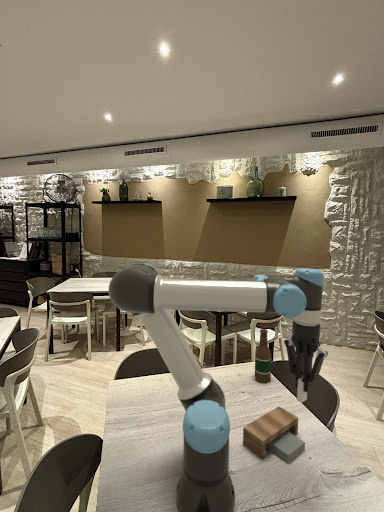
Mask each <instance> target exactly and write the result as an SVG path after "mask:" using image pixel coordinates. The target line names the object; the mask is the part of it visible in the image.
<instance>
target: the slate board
mask: <svg viewBox="0 0 384 512" xmlns="http://www.w3.org/2000/svg"><path fill="white" fill-rule="evenodd" d="M266 449H268V450H269V451H271V453H273V454H275V455H276V456H277V457H279V458H280V459H281V460H283V461H284V462H286V463H287V464H289V463H290V462H292V461H293V460H295V458H296V457H298V456H299V455H300V454H301V453H302V452H304V451H305V450H306V442H305V440H302V439H301V438H299V437H297V436H296V435H294V434H293V433H291V432H288V431H285V432H284V433H282V434H281V435H279V436H278V437H276V438H275V439H274V440H272V441H271V442H269V443H268V444H266Z"/></svg>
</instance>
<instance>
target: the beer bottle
mask: <svg viewBox="0 0 384 512" xmlns="http://www.w3.org/2000/svg"><path fill="white" fill-rule="evenodd" d="M259 333H260V335H259V344H258V346H257V347H256V350H255V352H254V353H255V355H254V380H255V381H256V382H258V383H260V384H267V383H270V382H271V380H272V379H271V378H272V353H271V349H270V348H269V346H268V333H269V332H268V330H267V329H265V328H261V329H260V330H259Z"/></svg>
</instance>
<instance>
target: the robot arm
mask: <svg viewBox="0 0 384 512" xmlns="http://www.w3.org/2000/svg"><path fill="white" fill-rule="evenodd" d="M323 291H324V274H323V271H321V270H320V269H317V268H316V269H315V268H308V267H307V268H306V267H305V268H304V267H302V268H299V267H298V268H296V269H295V270H294V274H292V275H284V274H283V275H280V274H266V273H264V274H255V275H254V276H253V279H252V280H251V281H249V280H248V281H247V280H219V279H217V280H215V279H211V280H210V279H207V280H206V279H183V278H182V279H180V278H179V279H178V278H177V279H176V278H164V277H162V275H160V273H159V271H158V269H156V267H154V266H153V265H151V264H148V263H143V262H138V263H133V264H131V265H129V266H128V267H125V268H123V269H121V270H119V271H118V272H116V273H115V274H114V275H113V277H111V280H110V282H109V285H108V296H109V298H110V301H111V302H112V304H113V306H115V307H116V308H118V309H119V310H121V311H123V312H125V313H129V314H131V315H132V316H133V317H134V318H135V319H140V320H141V322H142V323H143V325H144V327H145V329H146V331H147V332H148V334H149V336H150V338H151V340H152V341H153V343H154V345H155V347H156V350H158V352H159V354H160V357H162V360H163V361H164V363H165V365H166V367H167V369H168V371H169V372H170V374H171V376H172V378H173V380H174V381H175V384H176V385H177V387H178V390H177V392H176V393H177V395H176V396H177V398H178V399H179V401H180V403H181V405H182V407H183V409H184V411H185V413H184V415H183V420H182V421H183V422H182V431H183V455H182V456H183V469H182V472H181V474H180V479H179V480H178V483H177V487H176V492H175V493H176V496H175V497H176V506H177V508H178V511H179V512H234V509H235V505H236V491H235V486H234V484H233V481H232V479H231V475H230V471H229V470H230V469H229V468H230V467H229V466H230V465H229V464H230V463H229V462H230V457H229V456H230V433H231V422H230V418H229V417H230V416H229V414H227V413H228V412H227V410H226V395H225V393H224V391H223V389H222V386H221V385H220V384H219V383H218V382H217V381H216V380H214V378H213V376H212V375H211V373H208V372H205V371H203V369H202V367H201V365H200V363H199V361H198V360H197V357H196V356H195V354H194V352H193V351H192V348H191V347H190V345H189V343H188V341H187V339H186V337H185V335H184V334H183V332H182V330H181V329H180V326H179V325H178V323H177V321H176V319H175V318H174V315H173V314H172V311H201V312H202V311H203V312H235V313H237V312H239V313H240V312H241V313H264V314H265V313H267V314H278V315H279V316H282V317H284V318H286V319H292V320H293V321H292V329H291V333H292V335H291V337H290V338H288V339H283V343H284V346H285V348H286V354H287V359H288V367H289V373H291V374H293V375H294V376H295V384H294V385H295V388H297V392H296V393H297V394H296V400H297V401H298V402H300V403H304V402H305V401H307V399H308V392H310V390H311V383H314V382H315V381H317V380H318V379H319V375H320V372H321V369H322V366H323V364H324V360H325V358H326V357H328V356H329V352H328V351H327V350H324V349H322V347H321V343H320V336H321V325H320V323H321V322H322V303H323ZM315 353H316V357H315V360H314V363H313V359H314V355H315Z"/></svg>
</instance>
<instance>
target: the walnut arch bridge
mask: <svg viewBox="0 0 384 512" xmlns="http://www.w3.org/2000/svg"><path fill="white" fill-rule="evenodd" d="M242 429H243V430H242V432H243V433H242V445H243V446H245V447H246V448H247V449H249V450H250V451H251V452H253V453H254V454H255V455H257V457H259V458H260V459H261V460H264V459H265V458H266V457H267V455H266V454H267V448H266V444H268V443H269V442H271V441H272V440H274V439H275V438H276V437H278V436H279V435H281V434H282V433H284V432H285V431H288V432H290V433H291V434H293V435H294V436H296V435H297V434H299V416H296V415H295V414H293V413H292V412H290V411H288V410H287V409H284V408H283V407H281V406H277V407H275V408H274V409H272V410H270V411H267V413H265V414H263V415H262V416H260V417H259V418H257V419H255V420H253V421H252V422H250V423H248V424H247V425H245V426H243V428H242Z"/></svg>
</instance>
